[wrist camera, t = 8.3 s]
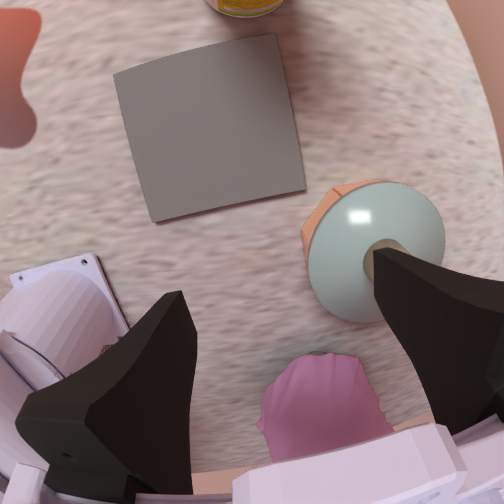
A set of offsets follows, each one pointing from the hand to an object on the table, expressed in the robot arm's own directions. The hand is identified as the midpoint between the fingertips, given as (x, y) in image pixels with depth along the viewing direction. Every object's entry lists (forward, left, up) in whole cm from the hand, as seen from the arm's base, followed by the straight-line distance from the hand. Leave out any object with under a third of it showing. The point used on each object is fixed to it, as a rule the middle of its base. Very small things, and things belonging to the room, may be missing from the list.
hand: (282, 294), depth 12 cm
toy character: (+1, -16, -10) cm, 19 cm away
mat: (-2, +6, -10) cm, 12 cm away
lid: (+6, -3, -7) cm, 10 cm away
